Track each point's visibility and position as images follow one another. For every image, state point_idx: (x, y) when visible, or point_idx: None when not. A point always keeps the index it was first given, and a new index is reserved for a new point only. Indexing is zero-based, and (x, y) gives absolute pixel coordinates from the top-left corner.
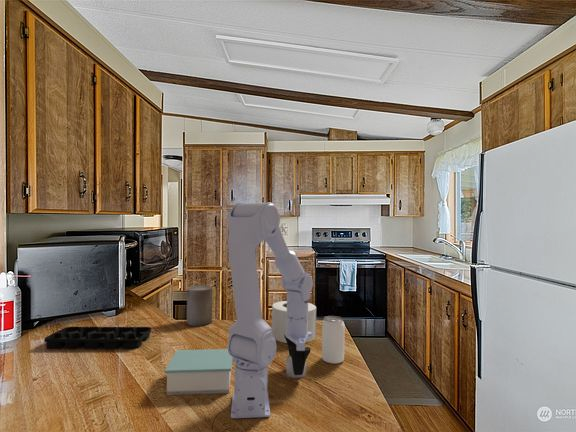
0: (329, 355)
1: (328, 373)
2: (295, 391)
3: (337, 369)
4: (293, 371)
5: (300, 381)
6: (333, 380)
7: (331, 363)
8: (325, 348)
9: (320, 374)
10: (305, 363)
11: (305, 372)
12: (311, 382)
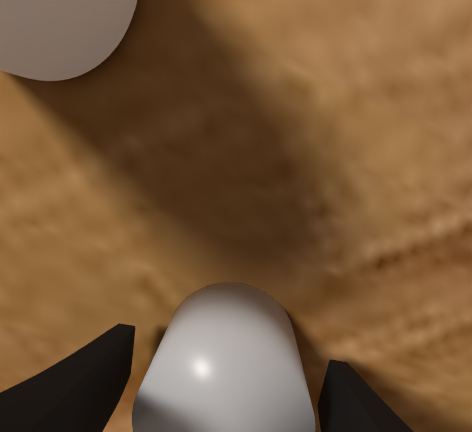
0: (87, 18)
1: (285, 127)
2: (443, 407)
3: (237, 20)
4: (320, 424)
5: (340, 348)
6: (400, 135)
7: (125, 27)
8: (2, 30)
9: (285, 193)
10: (279, 347)
11: (270, 303)
12: (375, 291)
